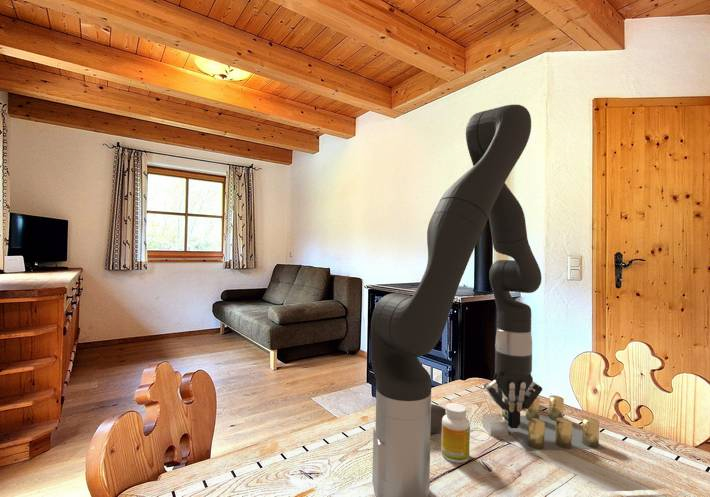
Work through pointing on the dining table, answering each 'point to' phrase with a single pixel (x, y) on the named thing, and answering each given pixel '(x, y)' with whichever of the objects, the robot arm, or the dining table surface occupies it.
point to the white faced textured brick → (495, 424)
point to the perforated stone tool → (436, 418)
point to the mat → (547, 435)
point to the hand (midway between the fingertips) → (512, 426)
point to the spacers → (558, 426)
